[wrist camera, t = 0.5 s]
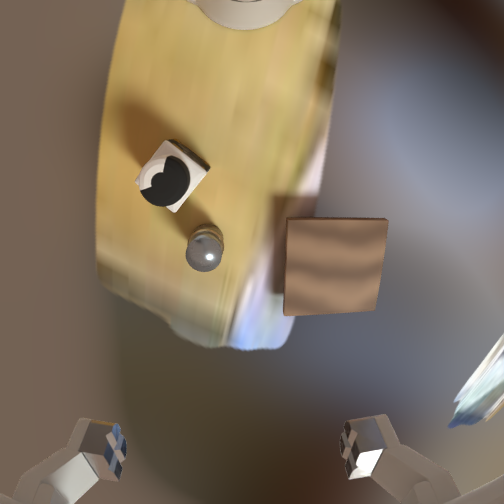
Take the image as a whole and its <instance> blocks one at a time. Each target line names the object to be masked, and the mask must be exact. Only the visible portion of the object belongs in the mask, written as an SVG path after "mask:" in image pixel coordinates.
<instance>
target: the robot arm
mask: <svg viewBox="0 0 504 504" xmlns="http://www.w3.org/2000/svg"><path fill="white" fill-rule="evenodd" d="M187 1H189V2H191V3H193V4H195V5H197V6H199V7H200V8H201V10H202V11H203V12H204V13H205V14H206V15H207V16H208V17H209V18H210V19H211V20H213V21H214V22H216V23H218V24H220V25H222V26H225V27H228V28H232V29H239V30H251V29H257V28H261V27H265V26H267V25H270V24H272V23H273V22H275V21H277V20H278V19H279V18H281V17H282V16H283V15H284V14H285V12H286V11H287V10H288V9H289V8H290V7H291V6H292V5H294V4H296V3H299V2H301V1H302V0H187ZM344 430H345V432H344V433H342V434H341V438H340V450H341V454H342V457H343V458H345V459H346V460H347V462H346V464H345V468H346V471H347V475H348V478H349V479H355V478H361V477H366V476H370V477H371V478H372V479H374V480H375V481H376V482H377V483H378V484H379V485H381V486H382V487H383V488H384V489H385V490H386V491H388V492H389V493H390V494H391V495H392V496H394V497H395V498H396V499H397V500H398V501H400V502H401V503H400V504H504V474H503V475H502V476H500V477H498V478H496V479H494V480H492V481H491V482H489V483H487V484H485V485H483V486H481V487H479V488H477V489H475V490H473V491H470V492H469V493H466V494H464V495H462V496H461V494H460V492H459V490H458V488H457V486H456V484H455V482H454V480H453V478H452V476H451V474H450V473H449V471H447V470H446V469H444V468H442V467H441V466H439V465H437V464H435V463H434V462H432V461H430V460H429V459H427V458H425V457H424V456H422V455H420V454H419V453H417V452H416V451H414V450H412V449H411V448H409V447H407V446H406V445H401V444H400V443H399V440H398V438H397V436H396V434H395V432H394V429H393V428H392V425H391V423H390V421H389V419H388V417H387V415H385V414H382V415H378V416H373V417H371V416H370V417H365V418H360V419H354V420H348V421H346V422H345V424H344ZM120 431H121V429H120V427H119V425H118V424H115V423H109V422H103V421H97V420H92V419H86V418H80V419H79V420H78V422H77V424H76V426H75V428H74V431H73V433H72V435H71V437H70V440H69V442H68V445H67V447H66V448H62V449H60V450H59V451H57V452H56V453H54V454H53V455H51V456H50V457H49V458H47V459H45V460H44V461H42V462H41V463H39V464H38V465H36V466H35V467H33V468H31V469H30V470H29V471H27V472H25V473H24V474H22V476H21V478H20V480H19V483H18V485H17V487H16V489H15V492H14V494H13V497H12V498H10V497H7V496H5V495H3V494H1V493H0V504H73V503H75V502H76V501H77V500H78V499H79V498H80V497H81V496H82V495H83V494H84V493H85V492H86V491H87V490H88V489H90V488H91V486H93V485H94V484H95V483H96V482H97V481H98V480H99V478H101V479H106V480H112V481H119V480H120V477H121V473H122V466H121V464H120V463H121V462H122V461H123V460H125V458H126V454H127V444H126V440H125V438H124V436H122V435H121V434H120Z"/></svg>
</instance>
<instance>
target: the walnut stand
mask: <svg viewBox="0 0 504 504" xmlns="http://www.w3.org/2000/svg"><path fill="white" fill-rule="evenodd" d="M387 230H388V220H387V219H385V218H328V217H327V218H326V217H325V218H322V217H295V218H287V220H286V251H285V277H284V300H283V314H284V316H297V315H317V314H333V313H347V312H348V313H349V312H362V311H374V310H375V306H376V301H377V296H378V290H379V284H380V279H381V273H382V266H383V260H384V253H385V246H386V238H387Z"/></svg>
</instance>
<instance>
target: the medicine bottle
mask: <svg viewBox="0 0 504 504" xmlns="http://www.w3.org/2000/svg"><path fill="white" fill-rule="evenodd" d="M209 170H210V165H208V164H207V163H206V162H205V161H203V160H202V159H201V158H200V157H198V156H197V155H196V154H194V153H193V152H192V151H191V150H189V149H188V148H187V147H186V146H184V145H183V144H182V143H180V142H179V141H178V140H177V139H172V140H165V141H164V142H163V143H162V144H161V146H160V147H159V148H158V150H157V151H156V152H155V154H154V155H153V156H152V158H151V159H150V160H149V161H148V162H147V163H146V164H145V165H144V166H143V168H142V169H141V172H140V174H139V175H138V177H137V178H136V180H135V183H136V184H138V185H139V189H140V191H141V194H142V195H143V197H144V198H145V199H146V200H147V201H148V202H150V203H151V204H153V205H156V206H162V207H165V206H166V207H167V208H168V209H169V210H171V211H172V212H176V211H177V210H178V209H179V208H180V206H181V205H182V204H183V202H184V201H185V200H186V199H187V197H188V196H189V195H190V194H191V192H192V191H193V190H194V189H195V187H196V186H197V185H198V184H199V182H200V181H201V180H202V179H203V178H204V176H205V175H206V174H207V172H208V171H209Z"/></svg>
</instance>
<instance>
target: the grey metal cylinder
mask: <svg viewBox="0 0 504 504" xmlns="http://www.w3.org/2000/svg"><path fill="white" fill-rule="evenodd" d="M223 251H224V242H223V234H222V232H221V230H220V229H219V228H218V227H216V226H214V225H212V224H203V225H200V226H199V227H197V228H196V229H195V231H194V232H193V234H192V235H191V237H190V238H189V241H188V247H187V249H186V259H187V262H188V264H189V265H190V266H191V267H192V268H193V269H195V270H197V271H201V272H208V271H211V270H213V269H215V268H216V267H217V266H218V265H219V263H220V261H221V257H222V254H223Z"/></svg>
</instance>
